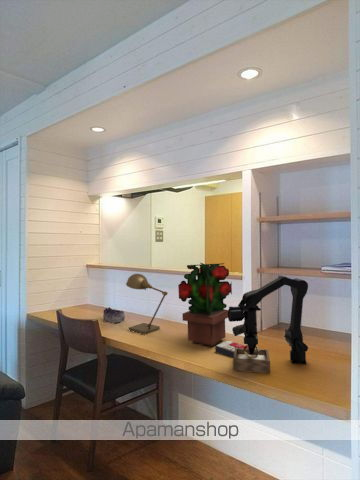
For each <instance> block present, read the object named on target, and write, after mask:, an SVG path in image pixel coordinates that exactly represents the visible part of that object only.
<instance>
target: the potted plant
mask: <svg viewBox="0 0 360 480" xmlns="http://www.w3.org/2000/svg"><path fill="white" fill-rule="evenodd" d="M224 264H225V263H224V262H223V263H203V262H199V264H187V265H186V268H187V270H191V271H190V273H185V274H184V275H183V278H184V279H185V280H182V281H180V283H179V284H178V299H179V300H181V301H182V302H183V303H184V302H186V301H187V299H189V300H188V301H187V304H189V306H188V308H187V309H188V311H185V312H183V313H182V321H184V322H185V321H186V322H187V340H188V341H190V342H192V344H195V345H199V346H202V347H204V346H205V347H208V348H212V347H213V346H216V345H218V343H220V342H222V340H223V339H225V338H226V319H228V310H229V309H226V308H227V307H228V305H227V304H226V303H224V300H225V299H226V298H227V296H229V295H230V294H231V295H233V292H232V291H233V288H232V287H233V286H232V281H227V280H226V279H227V277H229V275H230V270H229V268H226V266H225V265H224ZM197 266H199V267H197ZM186 280H187V281H186ZM225 280H226V281H225Z"/></svg>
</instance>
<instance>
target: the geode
mask: <svg viewBox="0 0 360 480" xmlns="http://www.w3.org/2000/svg"><path fill="white" fill-rule="evenodd" d="M102 313H103V315H102V317H103V321H104V322H105V321H106V322H109V323H113V324H119V323H120V322H122V321H125V319H126V314H125V312H124V310H118V309H113V308H111V307H110V306H109V307H105V308H104V309H103V312H102Z"/></svg>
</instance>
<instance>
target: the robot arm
mask: <svg viewBox="0 0 360 480" xmlns="http://www.w3.org/2000/svg"><path fill="white" fill-rule="evenodd" d="M284 286H287V287H290V293H291V295H292V302H291V312H290V323H289V327H288V328H285V330H284V336H283V337H284V338H285V341H286V342H287V344H288V345H289V347H290V350H289V359H290V362H291V363H292V364H299V365H305V364H308V363H307V360H306V358H307V357H306V355H307V353H306V352H308V350H309V347H308V345H307V344H306V343H304V339H303V337H304V336H303V331H302V329H301V327H302V316H303V315H302V314H303V306H304V298H305V296H306V295H307V293H308V290H309V283H308V281H307V280H304V279H301V278H297V277H296V278H289V277H287V276H284V275H279V276H278V277H276V278H275V279H274V280H272V281H270V282H269V283H266V284H265V285H263V286H260V288H258V289H254V290H250V291H247V292H245V293H243V294H242V298H241V300H240V301H239V303H238V305H237V306H232V305H231V306H228V309H227V310H228V318H227V319H228V322H229V323H231V322H242V321H243V320H244V321H243V323H242V324H239V325H235V326H233V327H232V333H233V335H234V337H238V336H239V335H242V334H243V336H244V337H243V345H246V344H248V348H249V352H250V355H253V352H254V350H255V349H256V345H257V346H258V345H259V337H258V321H257V319H258V318H257V316H258V315H257V312H259V311H260V312H261V310H262V309H261V308H260V307H259V306H258V304H259V303H260V302H261V301H262V300H263V299H264V298H265V297H267V296H268V295H270V294H272V293H273V292H275V291H277V290H279V289H281V288H282V287H284Z"/></svg>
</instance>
